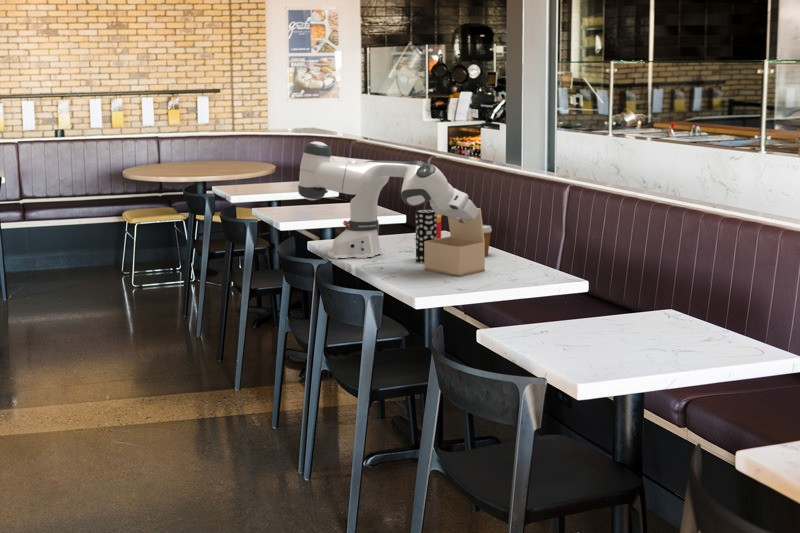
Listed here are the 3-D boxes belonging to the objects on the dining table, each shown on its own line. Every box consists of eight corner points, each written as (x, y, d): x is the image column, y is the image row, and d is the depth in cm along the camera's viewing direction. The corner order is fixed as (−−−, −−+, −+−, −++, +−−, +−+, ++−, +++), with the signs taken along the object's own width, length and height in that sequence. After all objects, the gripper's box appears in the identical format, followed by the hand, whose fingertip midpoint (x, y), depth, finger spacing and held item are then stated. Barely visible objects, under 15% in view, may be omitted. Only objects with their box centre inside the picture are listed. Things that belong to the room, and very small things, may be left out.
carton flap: (479, 208, 360) (480, 208, 360) (446, 204, 372) (447, 204, 372) (483, 241, 364) (484, 241, 364) (450, 236, 376) (451, 236, 376)
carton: (459, 276, 357) (459, 247, 354) (424, 269, 369) (424, 241, 367) (484, 270, 366) (484, 242, 364) (449, 264, 379) (449, 236, 376)
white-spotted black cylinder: (422, 258, 391) (422, 209, 387) (440, 260, 387) (440, 210, 383) (412, 262, 384) (411, 211, 380) (430, 264, 380) (430, 213, 376)
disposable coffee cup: (493, 253, 398) (493, 225, 396) (489, 258, 389) (489, 228, 387) (470, 252, 401) (471, 224, 398) (466, 257, 392) (466, 228, 390)
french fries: (425, 241, 427) (425, 212, 424) (433, 240, 429) (433, 211, 426) (435, 245, 419) (435, 215, 416) (444, 244, 421) (444, 214, 418)
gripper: (421, 202, 365) (439, 225, 374) (461, 207, 351) (479, 231, 359) (430, 189, 367) (447, 212, 376) (470, 194, 353) (487, 218, 361)
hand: (463, 221), depth 367 cm, fingers closed, pressing on carton flap
